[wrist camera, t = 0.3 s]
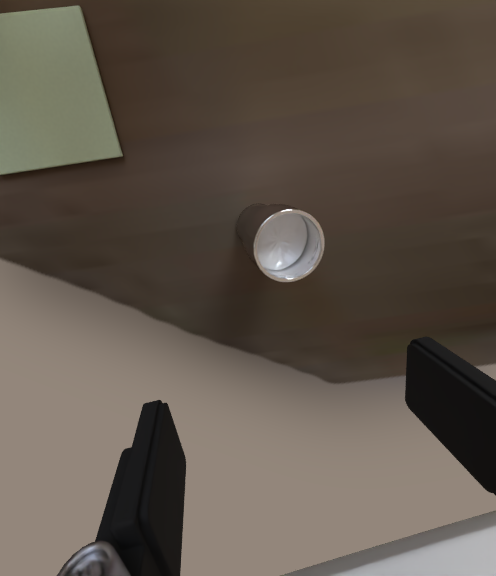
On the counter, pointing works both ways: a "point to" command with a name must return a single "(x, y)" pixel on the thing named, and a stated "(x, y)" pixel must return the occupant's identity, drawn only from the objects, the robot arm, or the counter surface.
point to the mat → (51, 93)
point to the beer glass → (281, 240)
